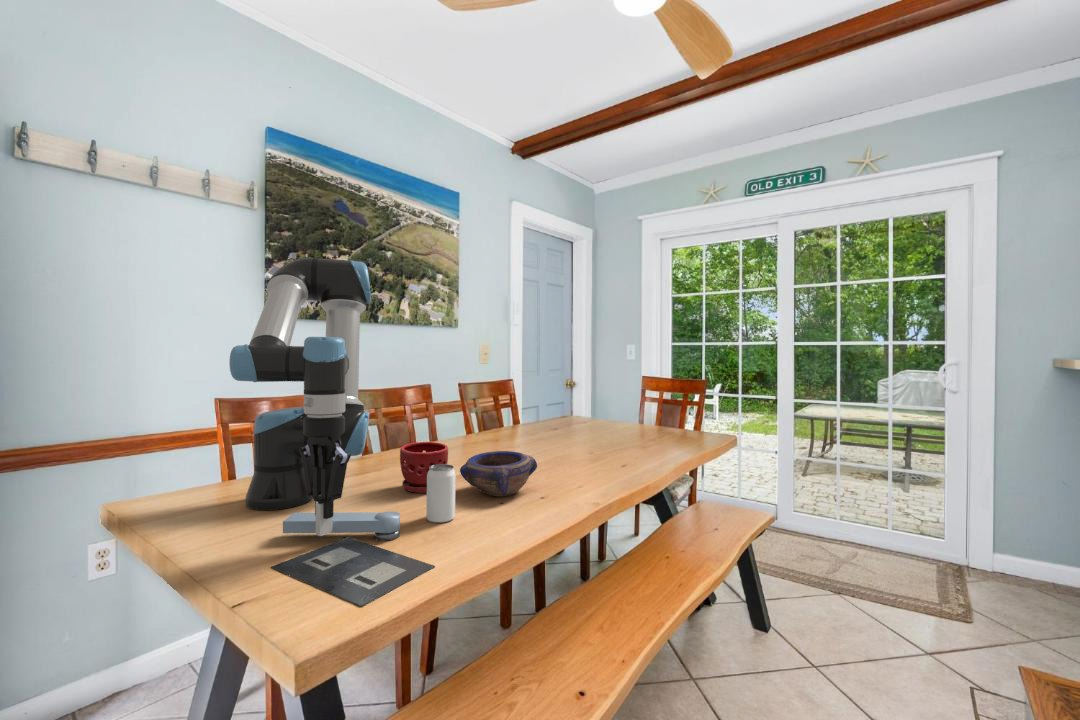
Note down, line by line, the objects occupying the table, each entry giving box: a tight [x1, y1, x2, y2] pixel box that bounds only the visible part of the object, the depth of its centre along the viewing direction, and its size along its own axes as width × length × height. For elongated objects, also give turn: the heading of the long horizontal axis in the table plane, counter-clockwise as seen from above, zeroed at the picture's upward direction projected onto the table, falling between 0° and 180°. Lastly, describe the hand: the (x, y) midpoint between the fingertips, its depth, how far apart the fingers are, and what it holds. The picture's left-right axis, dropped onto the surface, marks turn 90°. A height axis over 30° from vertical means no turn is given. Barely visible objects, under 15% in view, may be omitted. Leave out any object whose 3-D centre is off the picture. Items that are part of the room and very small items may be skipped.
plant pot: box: [399, 441, 449, 494], centre depth 134 cm, size 13×13×12 cm
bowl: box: [459, 450, 538, 497], centre depth 132 cm, size 18×18×10 cm
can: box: [426, 463, 456, 524], centre depth 111 cm, size 6×6×12 cm
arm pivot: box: [374, 528, 401, 542], centre depth 100 cm, size 5×5×1 cm
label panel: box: [270, 536, 436, 608], centre depth 86 cm, size 24×16×1 cm, turn 59°
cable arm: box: [282, 511, 401, 534], centre depth 100 cm, size 5×22×3 cm, turn 94°
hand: (324, 533), depth 95 cm, fingers closed
